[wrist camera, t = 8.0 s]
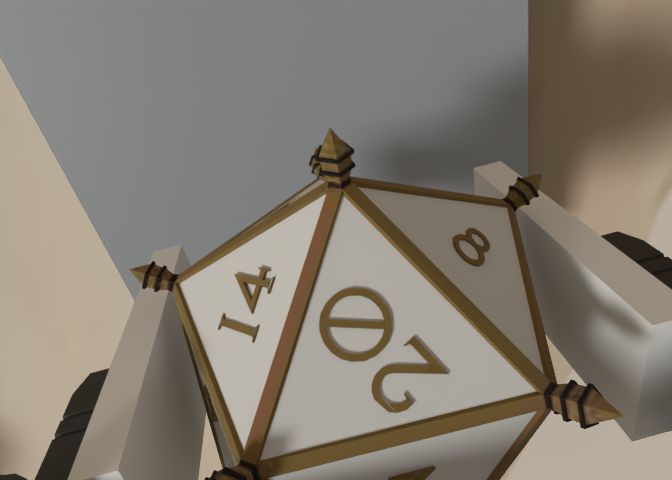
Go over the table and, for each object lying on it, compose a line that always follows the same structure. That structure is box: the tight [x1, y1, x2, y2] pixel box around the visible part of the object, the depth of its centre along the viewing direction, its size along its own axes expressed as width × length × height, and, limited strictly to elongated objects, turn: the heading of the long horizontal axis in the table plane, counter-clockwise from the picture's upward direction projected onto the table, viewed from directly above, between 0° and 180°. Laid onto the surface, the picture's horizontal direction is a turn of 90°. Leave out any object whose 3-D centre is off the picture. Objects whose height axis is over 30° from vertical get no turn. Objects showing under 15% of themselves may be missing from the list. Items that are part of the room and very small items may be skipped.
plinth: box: [0, 0, 529, 300], centre depth 21 cm, size 16×18×5 cm
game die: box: [129, 128, 624, 480], centre depth 10 cm, size 9×8×10 cm
